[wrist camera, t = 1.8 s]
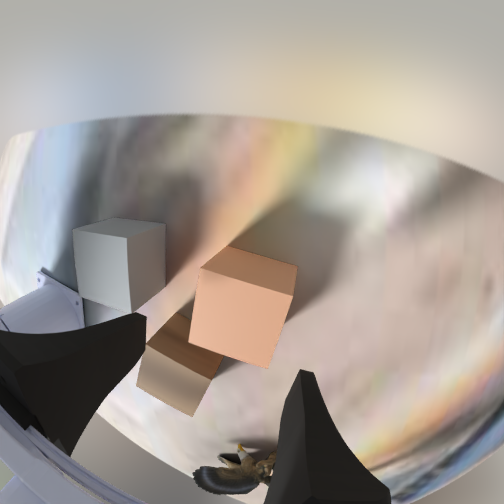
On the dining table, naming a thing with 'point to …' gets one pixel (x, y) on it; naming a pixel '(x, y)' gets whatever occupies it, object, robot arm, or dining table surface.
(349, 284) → the dining table surface
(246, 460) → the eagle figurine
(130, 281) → the slate grey block
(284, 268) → the terracotta block
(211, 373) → the walnut block
